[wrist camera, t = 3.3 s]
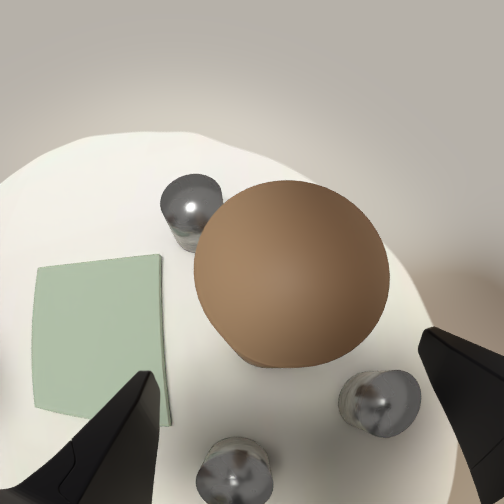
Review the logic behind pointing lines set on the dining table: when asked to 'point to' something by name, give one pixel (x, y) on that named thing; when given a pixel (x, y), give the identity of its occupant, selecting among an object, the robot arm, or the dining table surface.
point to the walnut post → (291, 274)
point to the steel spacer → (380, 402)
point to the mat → (96, 333)
